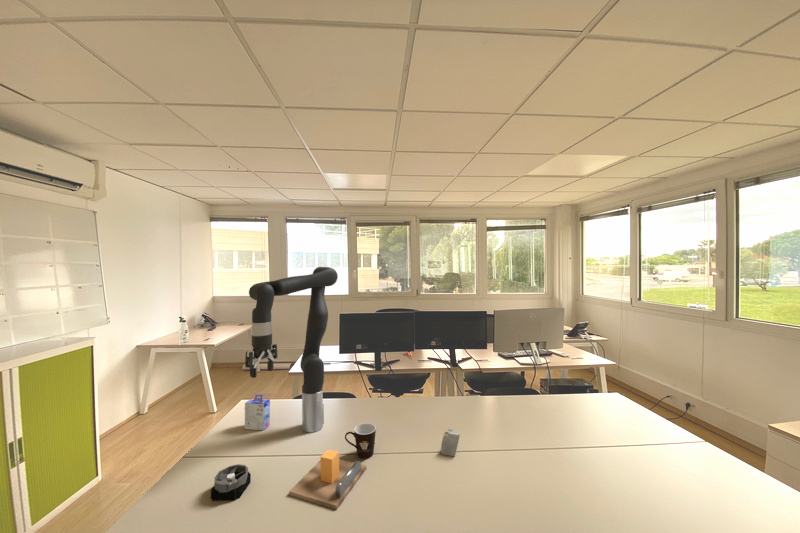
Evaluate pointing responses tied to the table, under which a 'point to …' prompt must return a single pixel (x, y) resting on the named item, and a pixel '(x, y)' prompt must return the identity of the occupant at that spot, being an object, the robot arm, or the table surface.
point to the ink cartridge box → (257, 413)
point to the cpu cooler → (230, 483)
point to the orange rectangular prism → (329, 466)
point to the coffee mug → (364, 440)
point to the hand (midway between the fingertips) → (262, 373)
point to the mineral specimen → (450, 442)
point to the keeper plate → (329, 484)
